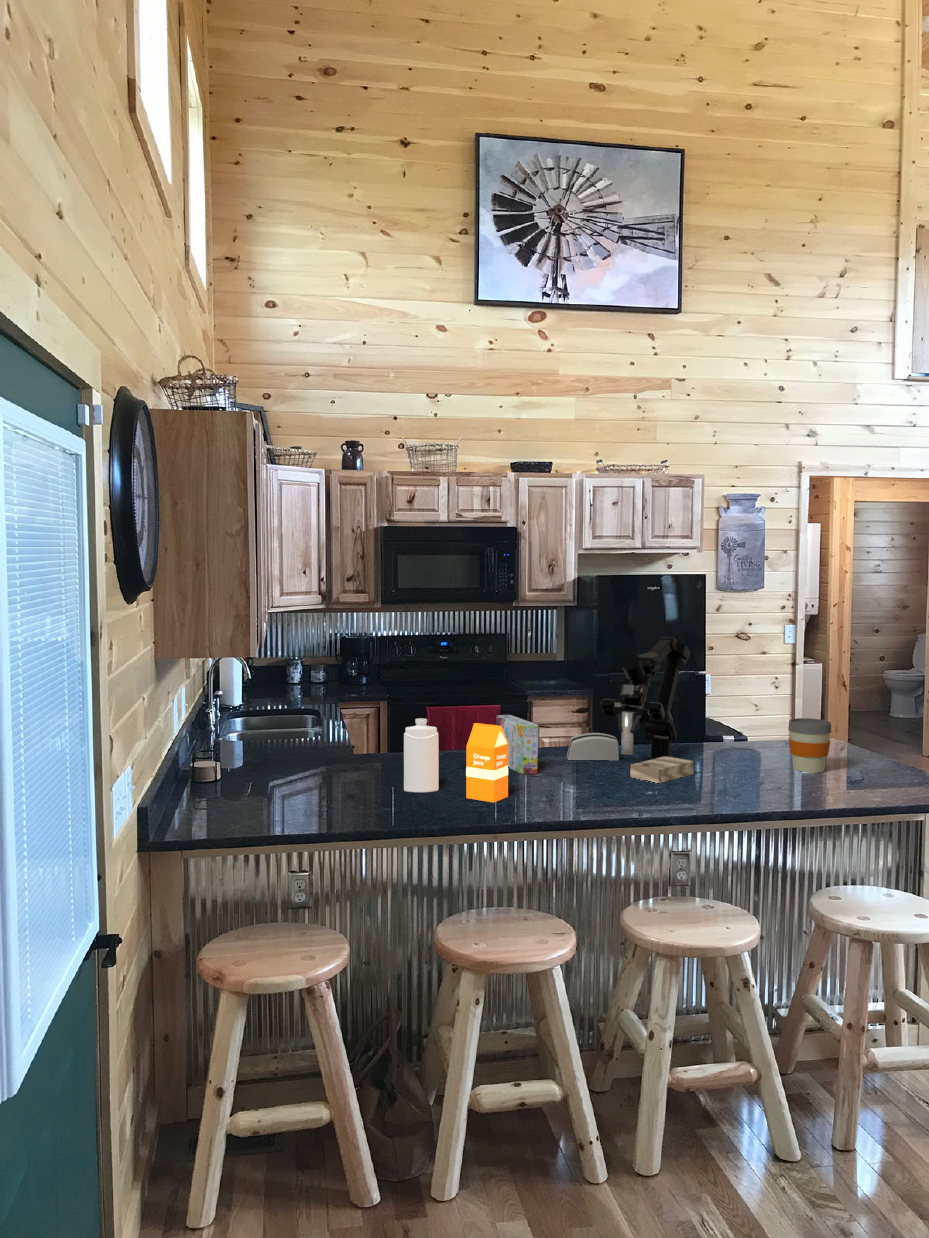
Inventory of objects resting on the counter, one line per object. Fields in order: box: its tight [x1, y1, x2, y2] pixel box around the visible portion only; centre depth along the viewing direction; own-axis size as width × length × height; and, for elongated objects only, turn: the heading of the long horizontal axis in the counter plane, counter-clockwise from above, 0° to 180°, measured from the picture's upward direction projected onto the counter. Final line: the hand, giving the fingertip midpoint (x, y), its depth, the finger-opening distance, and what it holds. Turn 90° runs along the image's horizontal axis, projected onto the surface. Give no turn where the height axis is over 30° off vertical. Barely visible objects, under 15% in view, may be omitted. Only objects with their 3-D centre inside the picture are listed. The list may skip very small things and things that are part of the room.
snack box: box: [495, 714, 540, 776], centre depth 304 cm, size 21×6×15 cm, turn 22°
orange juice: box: [465, 722, 509, 803], centre depth 267 cm, size 8×9×20 cm
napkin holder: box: [566, 732, 620, 761], centre depth 316 cm, size 17×5×10 cm, turn 95°
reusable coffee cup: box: [787, 717, 833, 774], centre depth 302 cm, size 13×13×15 cm
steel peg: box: [620, 711, 635, 756], centre depth 292 cm, size 4×4×12 cm
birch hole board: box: [629, 756, 695, 784], centre depth 293 cm, size 18×10×4 cm, turn 134°
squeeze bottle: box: [403, 717, 440, 793], centre depth 274 cm, size 10×20×5 cm
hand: (626, 732), depth 291 cm, fingers closed on steel peg, 3 cm apart
